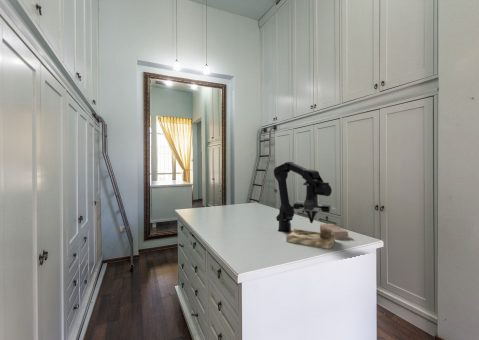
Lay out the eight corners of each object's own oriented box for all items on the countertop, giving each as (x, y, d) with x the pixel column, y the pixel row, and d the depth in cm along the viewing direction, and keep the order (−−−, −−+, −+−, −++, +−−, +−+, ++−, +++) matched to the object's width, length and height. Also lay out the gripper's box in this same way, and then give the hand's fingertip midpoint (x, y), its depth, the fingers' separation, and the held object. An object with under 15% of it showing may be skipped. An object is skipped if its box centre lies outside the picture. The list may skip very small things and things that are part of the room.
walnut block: (320, 238, 120) (320, 230, 120) (322, 235, 124) (322, 228, 124) (329, 239, 118) (329, 231, 118) (331, 237, 122) (331, 229, 122)
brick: (349, 239, 127) (349, 230, 127) (335, 240, 125) (335, 231, 125) (331, 230, 143) (331, 223, 143) (319, 231, 142) (319, 224, 142)
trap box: (286, 241, 123) (286, 232, 123) (294, 235, 134) (294, 227, 134) (330, 248, 111) (330, 239, 111) (334, 241, 122) (334, 232, 122)
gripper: (290, 194, 122) (289, 224, 122) (327, 197, 112) (327, 229, 113) (296, 192, 132) (296, 219, 132) (331, 194, 122) (331, 224, 123)
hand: (311, 223), depth 125 cm, fingers closed
